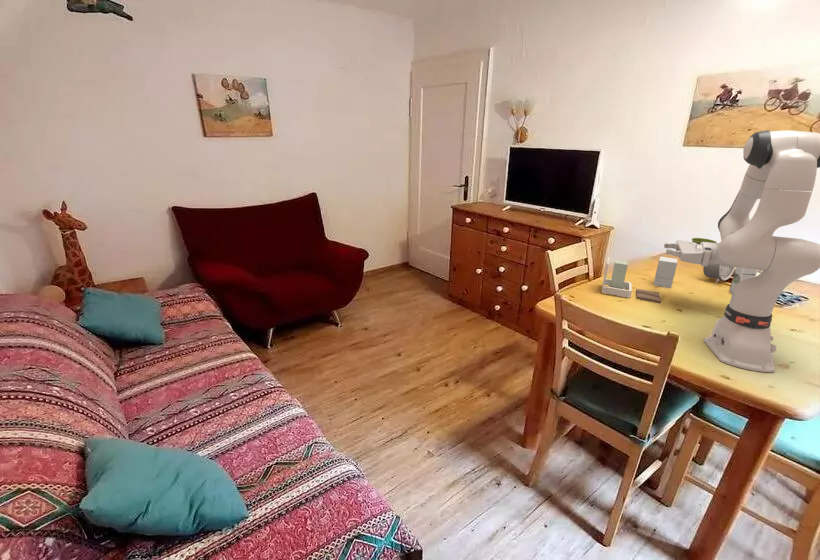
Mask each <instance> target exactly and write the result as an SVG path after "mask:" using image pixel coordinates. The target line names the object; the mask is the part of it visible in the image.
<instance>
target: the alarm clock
mask: <svg viewBox="0 0 820 560" xmlns="http://www.w3.org/2000/svg"><path fill="white" fill-rule="evenodd" d="M702 267H703V268H702V269H703V271H702V272H703V274H704V276H705V277H706V278H709V279H710V280H711V279H715V280H716V282H715V284H718V283H719V281H720V280H721V281H727V280H729V279H730V278H731V277H732V275H734V273H735V270H736V267H726V266H722V265H708V266H702Z"/></svg>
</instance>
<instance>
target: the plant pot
mask: <svg viewBox="0 0 820 560" xmlns="http://www.w3.org/2000/svg"><path fill="white" fill-rule="evenodd" d="M691 242H694V243H697V244H699V245H700V243H701V242H710V243H718V242H717V241H716V240H712V239H708V238H702V237H692V238H691Z"/></svg>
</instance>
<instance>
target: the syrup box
mask: <svg viewBox="0 0 820 560" xmlns="http://www.w3.org/2000/svg"><path fill="white" fill-rule="evenodd" d="M757 273H758V270H755V269H748V268H736V267H735V270H734V272H733V277H732V281H731V283H730V287H729V289H728V291H729V293H730V294H732V293H733V290H734V287H735V285H736V284H737V283H739V282H740V281H742V280H745V279H749V278H753V277H756V276H757Z"/></svg>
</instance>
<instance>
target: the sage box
mask: <svg viewBox="0 0 820 560" xmlns="http://www.w3.org/2000/svg"><path fill="white" fill-rule="evenodd" d="M613 264H614V265H613V270H612V274H611V278H610V279H611V283H610V287H613V288H619V289H623V285H624V281H625V279H626V275H627V270H628V264H629V263H628V261H625V260H619V259H615V260H614V263H613Z"/></svg>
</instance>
